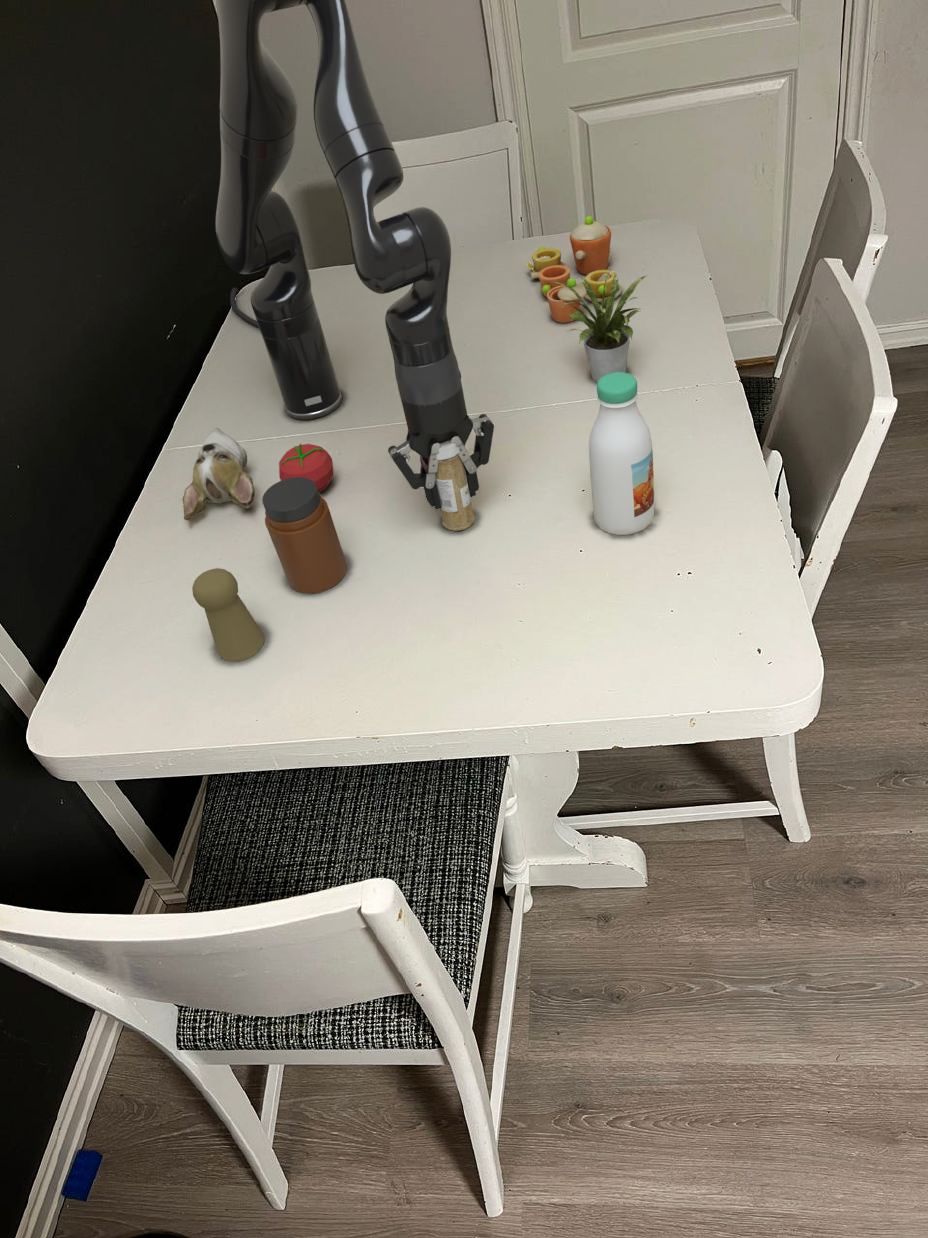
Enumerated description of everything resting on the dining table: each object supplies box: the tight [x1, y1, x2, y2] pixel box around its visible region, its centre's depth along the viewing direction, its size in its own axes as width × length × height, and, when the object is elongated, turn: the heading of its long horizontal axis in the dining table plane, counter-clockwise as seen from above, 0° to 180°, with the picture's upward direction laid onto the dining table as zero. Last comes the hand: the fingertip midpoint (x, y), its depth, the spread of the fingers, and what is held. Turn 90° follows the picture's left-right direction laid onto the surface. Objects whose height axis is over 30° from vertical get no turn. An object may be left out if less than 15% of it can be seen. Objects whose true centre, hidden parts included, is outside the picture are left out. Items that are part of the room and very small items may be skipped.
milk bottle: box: [588, 372, 655, 536], centre depth 115 cm, size 8×8×20 cm
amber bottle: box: [261, 477, 348, 595], centre depth 120 cm, size 8×8×13 cm
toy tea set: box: [526, 215, 622, 324], centre depth 166 cm, size 26×16×10 cm, turn 5°
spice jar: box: [435, 441, 476, 532], centre depth 123 cm, size 5×5×13 cm
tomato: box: [278, 443, 335, 494], centre depth 136 cm, size 8×8×8 cm
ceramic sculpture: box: [182, 426, 255, 521], centre depth 138 cm, size 11×9×15 cm
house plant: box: [553, 272, 648, 384], centre depth 142 cm, size 14×14×16 cm
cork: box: [191, 567, 266, 663], centre depth 113 cm, size 6×6×11 cm
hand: (453, 499), depth 125 cm, fingers closed on spice jar, 4 cm apart
